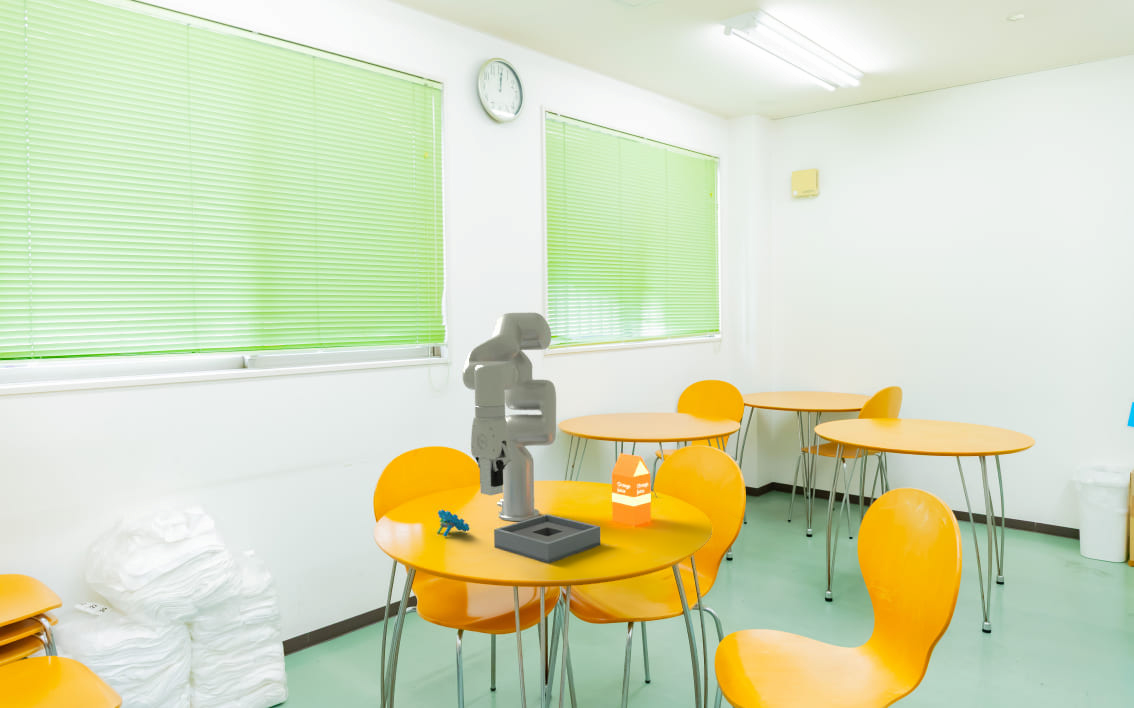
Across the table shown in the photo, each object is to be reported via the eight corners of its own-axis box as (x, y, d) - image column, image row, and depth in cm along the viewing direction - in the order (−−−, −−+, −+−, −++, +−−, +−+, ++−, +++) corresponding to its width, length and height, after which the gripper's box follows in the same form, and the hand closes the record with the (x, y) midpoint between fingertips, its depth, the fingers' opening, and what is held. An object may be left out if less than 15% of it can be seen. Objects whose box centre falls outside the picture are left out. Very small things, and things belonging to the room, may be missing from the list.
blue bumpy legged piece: (477, 528, 199) (451, 507, 195) (466, 546, 196) (440, 526, 192) (457, 527, 208) (432, 507, 204) (446, 544, 205) (421, 525, 201)
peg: (480, 493, 179) (479, 457, 179) (492, 490, 182) (491, 455, 182) (490, 495, 177) (490, 459, 176) (503, 492, 180) (502, 457, 179)
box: (494, 548, 189) (494, 529, 188) (547, 531, 203) (546, 514, 203) (548, 564, 175) (547, 544, 175) (600, 545, 190) (600, 526, 190)
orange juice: (629, 516, 219) (628, 451, 218) (651, 521, 212) (650, 455, 211) (611, 521, 213) (611, 455, 212) (633, 526, 207) (633, 458, 206)
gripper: (457, 411, 182) (459, 482, 182) (500, 416, 170) (502, 492, 171) (480, 408, 187) (481, 477, 188) (523, 413, 176) (525, 486, 176)
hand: (491, 483), depth 179 cm, fingers closed on peg, 4 cm apart
